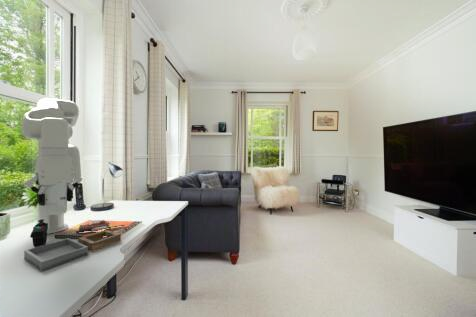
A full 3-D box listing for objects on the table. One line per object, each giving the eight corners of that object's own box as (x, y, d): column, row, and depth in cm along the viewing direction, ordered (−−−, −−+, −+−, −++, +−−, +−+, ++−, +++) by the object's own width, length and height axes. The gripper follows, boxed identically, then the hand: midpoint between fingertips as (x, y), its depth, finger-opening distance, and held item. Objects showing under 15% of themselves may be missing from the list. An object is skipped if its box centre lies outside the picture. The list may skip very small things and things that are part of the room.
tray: (24, 258, 74) (24, 250, 74) (68, 245, 86) (68, 237, 86) (41, 271, 66) (41, 262, 66) (88, 254, 77) (88, 246, 77)
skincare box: (43, 216, 72) (42, 180, 72) (46, 213, 76) (45, 179, 76) (66, 213, 76) (65, 179, 75) (68, 210, 79) (67, 178, 79)
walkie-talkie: (75, 237, 95) (125, 228, 106) (75, 227, 95) (125, 220, 106) (77, 231, 103) (123, 223, 113) (77, 222, 102) (123, 215, 113)
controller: (49, 240, 90) (49, 217, 90) (44, 251, 80) (44, 225, 80) (35, 243, 88) (35, 219, 88) (29, 254, 78) (28, 227, 78)
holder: (78, 245, 86) (78, 238, 86) (106, 236, 95) (106, 229, 95) (92, 251, 80) (91, 243, 80) (120, 241, 89) (120, 234, 89)
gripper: (78, 153, 85) (79, 197, 85) (17, 153, 70) (18, 206, 70) (87, 153, 81) (88, 199, 81) (25, 153, 66) (26, 209, 66)
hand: (56, 202), depth 76 cm, fingers closed on skincare box, 7 cm apart
